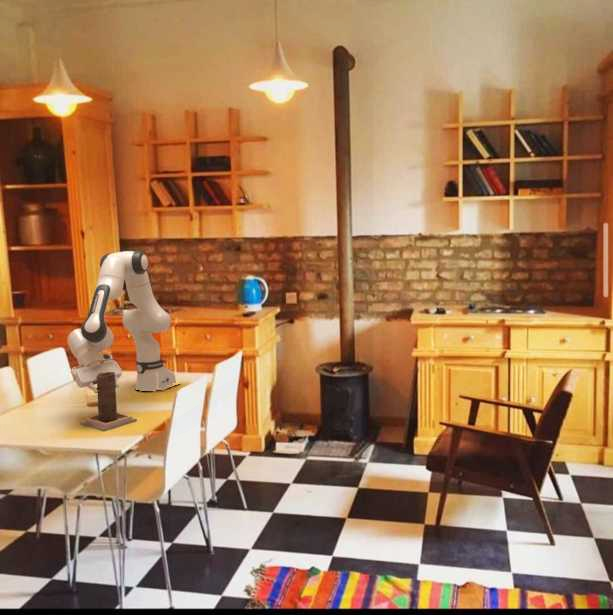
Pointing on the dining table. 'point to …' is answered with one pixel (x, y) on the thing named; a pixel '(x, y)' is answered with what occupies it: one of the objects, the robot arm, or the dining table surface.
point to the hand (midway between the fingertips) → (107, 389)
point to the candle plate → (108, 422)
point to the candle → (106, 396)
